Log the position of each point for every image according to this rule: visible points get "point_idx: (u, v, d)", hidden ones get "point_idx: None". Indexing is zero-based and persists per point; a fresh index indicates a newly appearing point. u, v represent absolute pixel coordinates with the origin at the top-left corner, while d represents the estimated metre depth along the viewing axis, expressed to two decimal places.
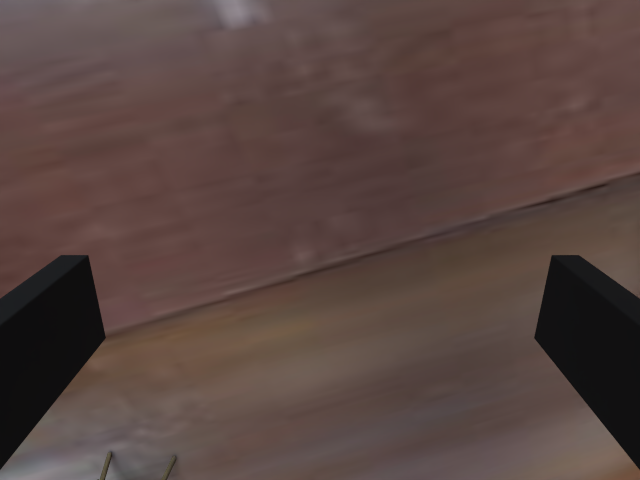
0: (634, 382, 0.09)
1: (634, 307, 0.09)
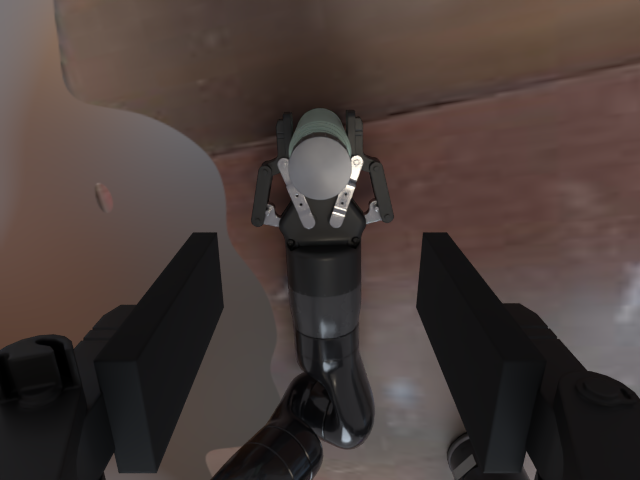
0: (454, 332, 0.11)
1: (462, 271, 0.11)
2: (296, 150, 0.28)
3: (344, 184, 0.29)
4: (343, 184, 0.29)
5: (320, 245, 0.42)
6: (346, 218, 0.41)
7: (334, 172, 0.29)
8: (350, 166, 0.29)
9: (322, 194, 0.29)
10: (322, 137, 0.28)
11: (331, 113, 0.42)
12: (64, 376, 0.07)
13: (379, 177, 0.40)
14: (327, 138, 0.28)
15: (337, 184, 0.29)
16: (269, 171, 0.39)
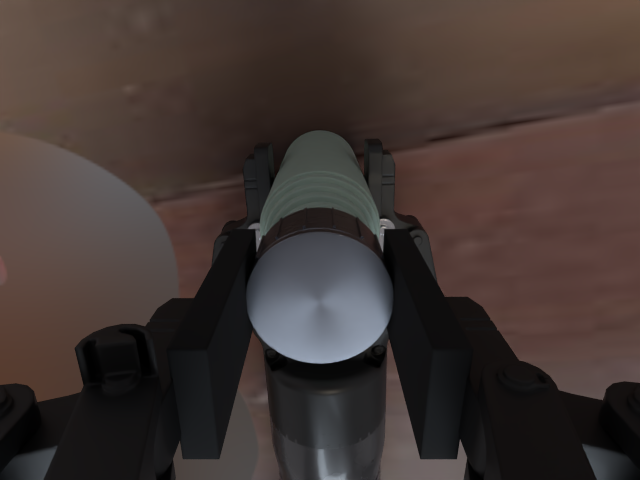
0: (402, 325, 0.11)
1: (413, 265, 0.11)
2: (263, 262, 0.12)
3: (376, 333, 0.13)
4: (374, 333, 0.13)
5: None
6: None
7: (353, 309, 0.12)
8: (391, 296, 0.12)
9: (325, 353, 0.13)
10: (325, 233, 0.12)
11: (338, 141, 0.26)
12: (143, 365, 0.08)
13: (421, 254, 0.23)
14: (338, 236, 0.12)
15: (360, 333, 0.13)
16: None
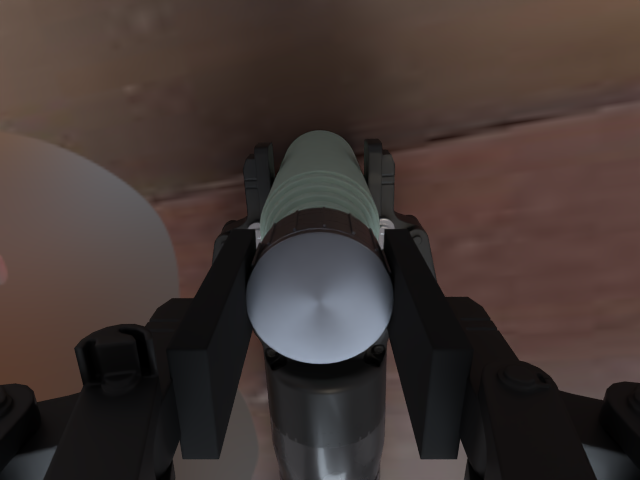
0: (402, 325, 0.11)
1: (413, 265, 0.11)
2: (265, 337, 0.13)
3: (372, 260, 0.12)
4: (371, 262, 0.12)
5: None
6: None
7: (337, 274, 0.12)
8: (333, 236, 0.12)
9: (380, 311, 0.12)
10: (249, 279, 0.12)
11: (338, 141, 0.26)
12: (143, 365, 0.08)
13: None
14: (254, 270, 0.12)
15: (367, 275, 0.12)
16: None
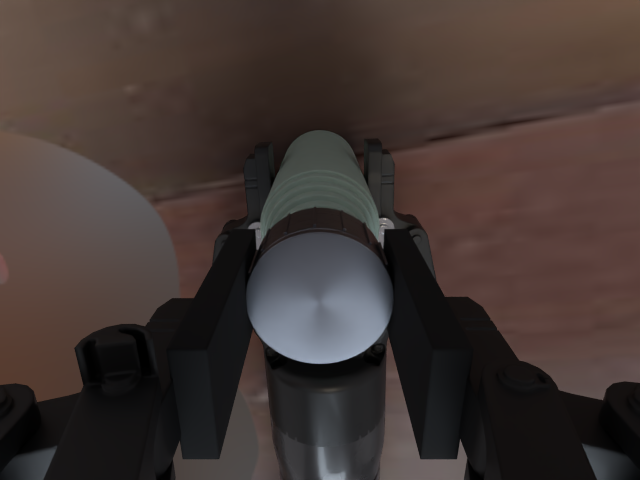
0: (403, 325, 0.11)
1: (413, 265, 0.11)
2: (343, 356, 0.13)
3: (286, 246, 0.12)
4: (288, 247, 0.12)
5: None
6: None
7: (293, 280, 0.12)
8: (253, 274, 0.12)
9: (346, 250, 0.12)
10: (280, 351, 0.13)
11: (338, 141, 0.26)
12: (143, 365, 0.08)
13: None
14: (271, 346, 0.13)
15: (301, 254, 0.12)
16: None
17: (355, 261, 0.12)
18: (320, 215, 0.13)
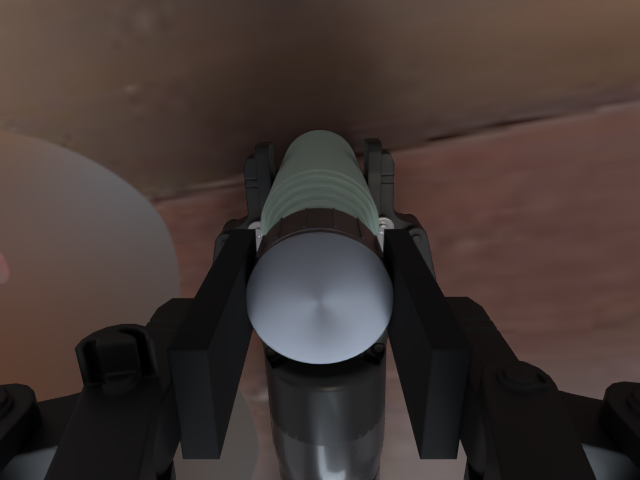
0: (402, 325, 0.11)
1: (413, 265, 0.11)
2: (389, 296, 0.12)
3: (253, 315, 0.12)
4: (254, 314, 0.12)
5: None
6: None
7: (290, 318, 0.12)
8: (275, 347, 0.13)
9: (270, 266, 0.12)
10: (364, 348, 0.13)
11: (338, 141, 0.26)
12: (143, 365, 0.08)
13: (420, 252, 0.23)
14: (355, 354, 0.13)
15: (264, 305, 0.12)
16: None
17: (284, 261, 0.12)
18: None
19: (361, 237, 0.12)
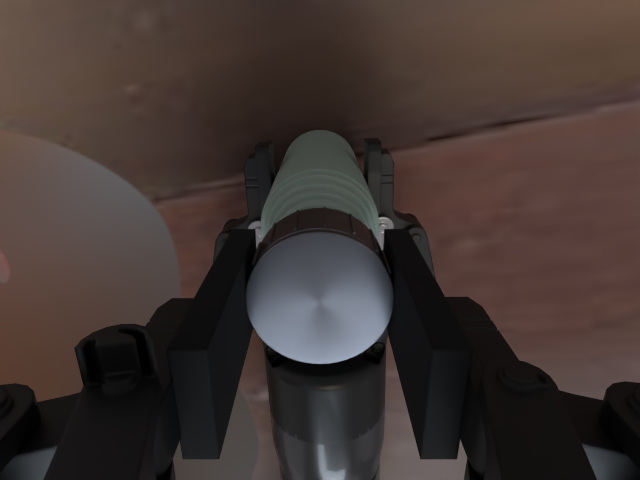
0: (403, 325, 0.11)
1: (413, 265, 0.11)
2: (331, 238, 0.12)
3: (316, 360, 0.13)
4: (315, 358, 0.13)
5: None
6: None
7: (329, 331, 0.13)
8: (358, 351, 0.13)
9: (270, 332, 0.13)
10: (387, 274, 0.12)
11: (338, 140, 0.26)
12: (143, 365, 0.08)
13: None
14: (390, 285, 0.12)
15: (308, 348, 0.13)
16: None
17: (268, 321, 0.13)
18: None
19: (268, 244, 0.12)
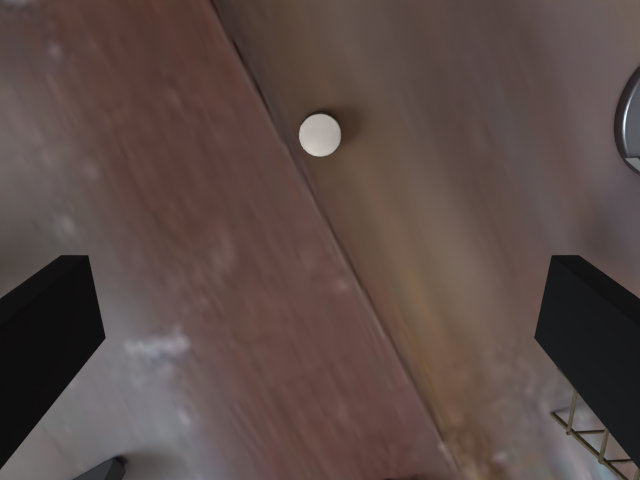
0: (634, 382, 0.09)
1: (634, 307, 0.09)
2: (323, 115, 0.43)
3: (319, 155, 0.44)
4: (318, 154, 0.44)
5: None
6: None
7: (322, 145, 0.44)
8: (331, 152, 0.44)
9: (305, 145, 0.44)
10: (338, 126, 0.43)
11: None
12: None
13: None
14: (339, 130, 0.43)
15: (316, 151, 0.44)
16: None
17: (305, 141, 0.44)
18: None
19: (305, 118, 0.44)
